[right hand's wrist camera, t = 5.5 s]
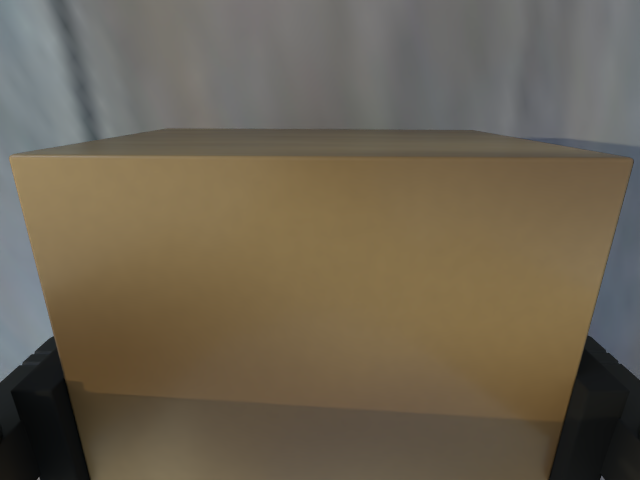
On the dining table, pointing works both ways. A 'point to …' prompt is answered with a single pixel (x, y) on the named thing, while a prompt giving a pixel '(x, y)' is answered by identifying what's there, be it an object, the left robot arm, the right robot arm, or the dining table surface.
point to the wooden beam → (320, 298)
